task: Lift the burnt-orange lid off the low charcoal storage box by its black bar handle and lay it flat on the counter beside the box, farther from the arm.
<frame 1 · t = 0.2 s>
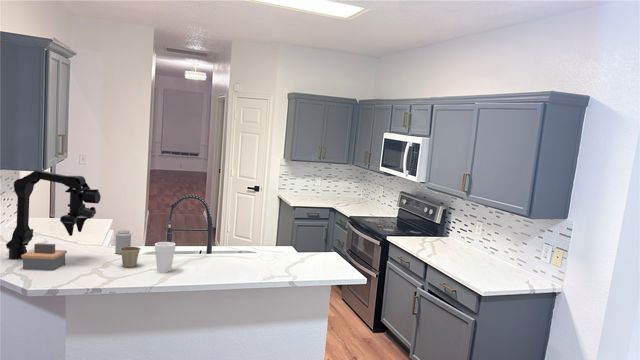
hand: (75, 233, 219), 14 cm above the worktop, tool pointing down, fingers open, 9 cm apart
storage box: (44, 268, 208), on the worktop
foam cup: (164, 271, 217), on the worktop
flower pot: (129, 266, 221), on the worktop
can: (122, 253, 244), on the worktop
lid: (44, 255, 208), point 6 cm above the worktop, touching storage box
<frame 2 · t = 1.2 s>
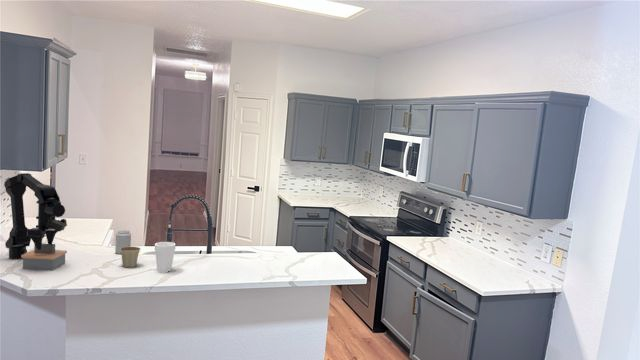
hand: (44, 247, 208), 10 cm above the worktop, tool pointing down, fingers open, 9 cm apart
nothing on the worktop moved.
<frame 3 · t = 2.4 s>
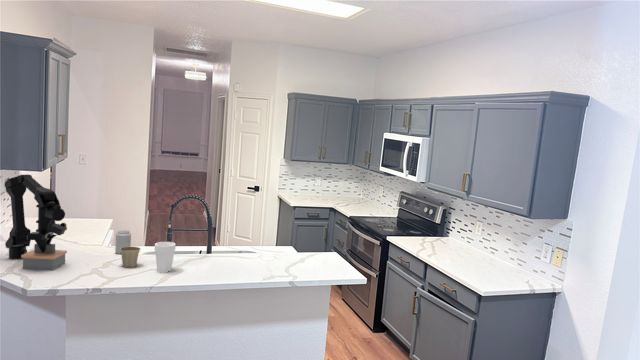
hand: (44, 251, 208), 8 cm above the worktop, tool pointing down, fingers closed on lid, 2 cm apart
lid: (44, 255, 208), point 6 cm above the worktop, touching gripper, storage box
everything else where it was.
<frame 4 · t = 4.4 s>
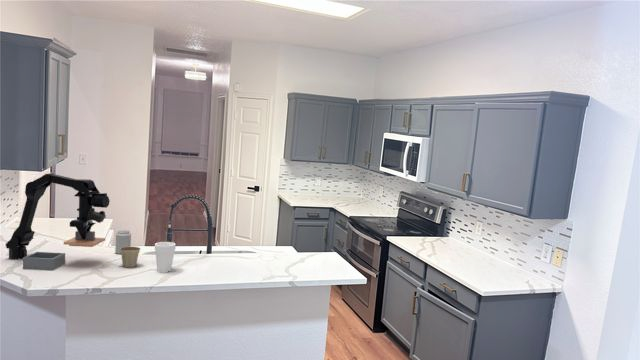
hand: (85, 238, 215), 13 cm above the worktop, tool pointing down, fingers closed on lid, 2 cm apart
lid: (85, 242, 215), point 11 cm above the worktop, touching gripper
everything else where it was.
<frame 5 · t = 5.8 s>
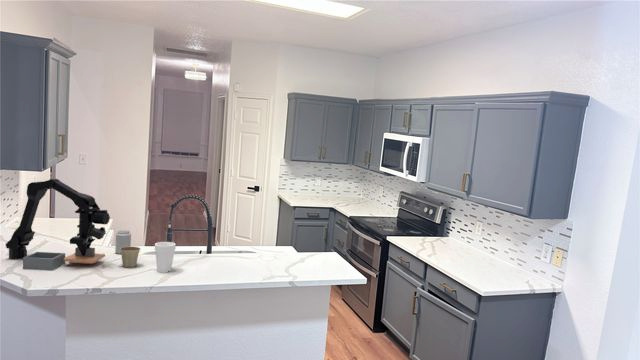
hand: (84, 254, 216), 5 cm above the worktop, tool pointing down, fingers closed on lid, 2 cm apart
lid: (84, 258, 216), point 3 cm above the worktop, touching gripper
everything else where it was.
when the fingers open (4 cm above the worktop, at t = 6.6 s): lid drops 2 cm, point 1 cm above the worktop.
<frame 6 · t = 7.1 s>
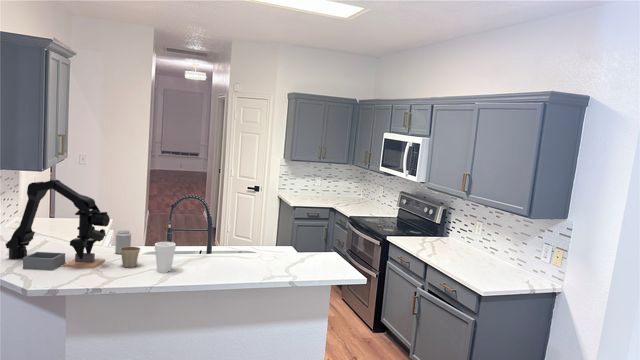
hand: (84, 256, 216), 4 cm above the worktop, tool pointing down, fingers open, 8 cm apart
lid: (84, 264, 216), point 1 cm above the worktop
everything else where it was.
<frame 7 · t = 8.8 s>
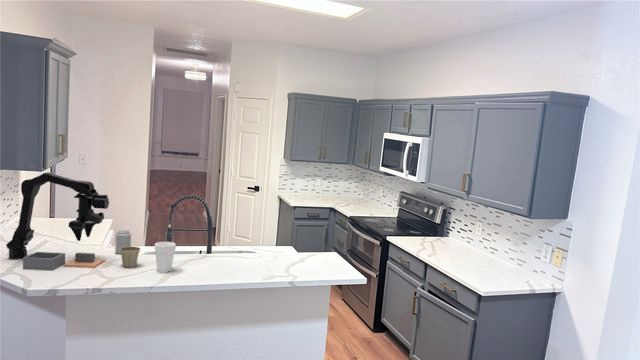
hand: (83, 238, 221), 12 cm above the worktop, tool pointing down, fingers open, 9 cm apart
nothing on the worktop moved.
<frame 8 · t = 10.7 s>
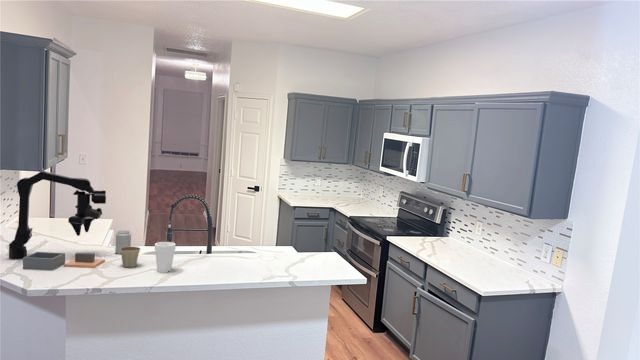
hand: (82, 233, 230), 12 cm above the worktop, tool pointing down, fingers open, 9 cm apart
nothing on the worktop moved.
at the end: lid inside the target area (0.0 cm from its centre), point 0.7 cm above the worktop; lid tilted 0°; the gripper is holding nothing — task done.
